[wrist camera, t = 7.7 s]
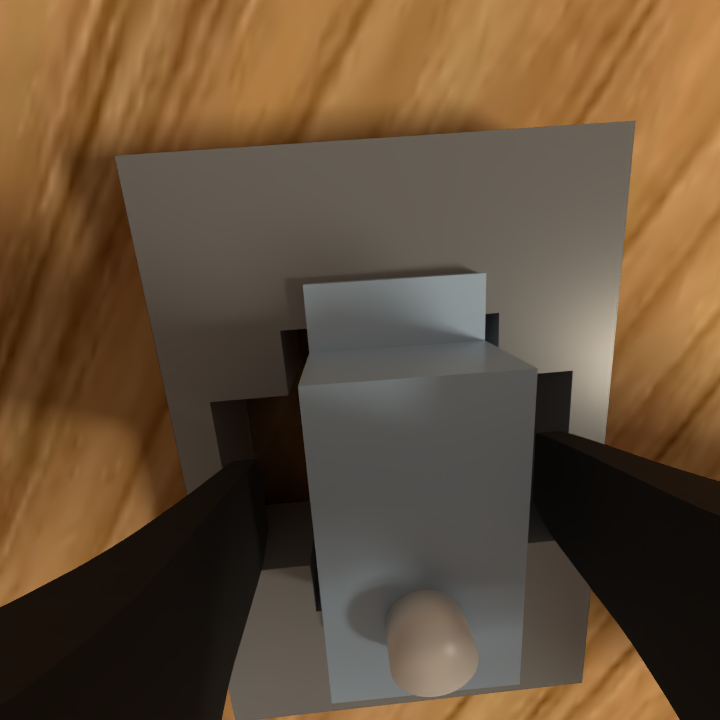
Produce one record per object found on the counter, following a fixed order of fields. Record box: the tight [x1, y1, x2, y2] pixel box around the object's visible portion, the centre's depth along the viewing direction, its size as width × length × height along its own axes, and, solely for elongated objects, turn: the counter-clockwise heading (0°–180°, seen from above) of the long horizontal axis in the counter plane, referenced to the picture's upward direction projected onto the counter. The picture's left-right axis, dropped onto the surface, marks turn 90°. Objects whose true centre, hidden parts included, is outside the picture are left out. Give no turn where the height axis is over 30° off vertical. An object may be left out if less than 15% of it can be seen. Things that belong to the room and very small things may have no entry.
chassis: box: [115, 121, 635, 720], centre depth 11 cm, size 11×16×3 cm
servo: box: [298, 273, 538, 704], centre depth 10 cm, size 4×10×7 cm, turn 3°
